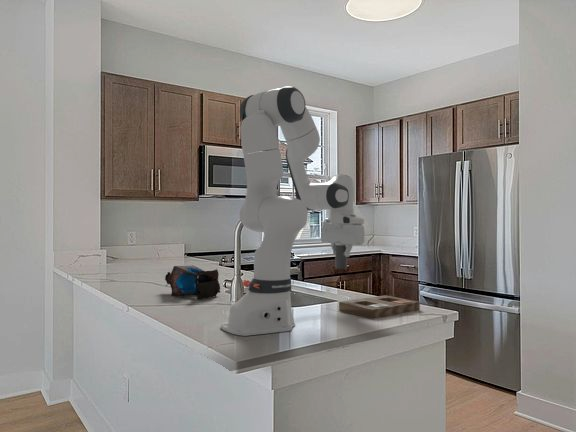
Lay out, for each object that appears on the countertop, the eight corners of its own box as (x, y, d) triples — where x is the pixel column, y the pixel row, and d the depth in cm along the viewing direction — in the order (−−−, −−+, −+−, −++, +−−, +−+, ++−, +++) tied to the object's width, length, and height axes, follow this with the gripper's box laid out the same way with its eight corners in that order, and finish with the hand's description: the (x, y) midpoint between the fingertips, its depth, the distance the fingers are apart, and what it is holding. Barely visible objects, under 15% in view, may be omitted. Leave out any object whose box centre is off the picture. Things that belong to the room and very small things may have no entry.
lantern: (210, 314, 181) (166, 303, 194) (229, 280, 189) (186, 272, 202) (190, 291, 170) (145, 282, 183) (210, 257, 178) (166, 250, 192)
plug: (340, 269, 164) (341, 242, 165) (332, 268, 168) (332, 241, 168) (349, 268, 167) (350, 241, 167) (341, 267, 171) (341, 241, 171)
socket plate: (372, 319, 146) (372, 308, 146) (339, 310, 159) (339, 301, 159) (419, 310, 160) (419, 301, 160) (385, 303, 173) (385, 294, 173)
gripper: (317, 218, 174) (316, 254, 174) (354, 219, 158) (354, 258, 158) (329, 218, 178) (329, 253, 178) (367, 219, 161) (367, 257, 161)
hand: (341, 256), depth 168 cm, fingers closed on plug, 4 cm apart
